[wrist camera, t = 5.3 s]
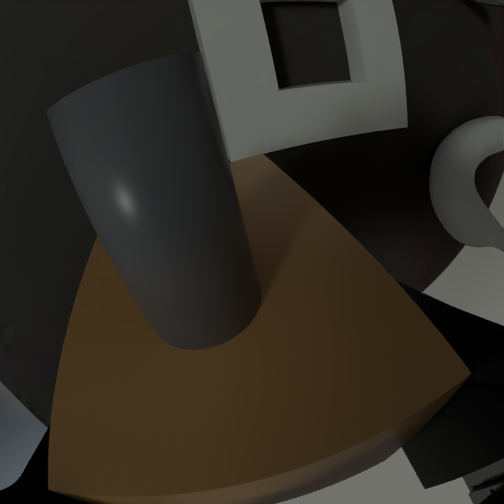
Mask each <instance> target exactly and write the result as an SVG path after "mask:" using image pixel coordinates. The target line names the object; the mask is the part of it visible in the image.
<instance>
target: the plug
mask: <svg viewBox="0 0 504 504" xmlns="http://www.w3.org/2000/svg"><path fill="white" fill-rule="evenodd" d="M47 115H48V118H49V121H50V124H51V127H52V130H53V133H54V136H55V139H56V142H57V144H58V147H59V150H60V152H61V155H62V157H63V160H64V162H65V165H66V167H67V170H68V172H69V175H70V177H71V179H72V182H73V184H74V186H75V189H76V191H77V193H78V195H79V198H80V200H81V202H82V204H83V206H84V208H85V210H86V212H87V215H88V217H89V219H90V221H91V223H92V225H93V227H94V229H95V231H96V233H97V235H98V236H97V239H96V241H95V244H94V246H93V249H92V252H91V254H90V257H89V260H88V263H87V265H86V268H85V271H84V274H83V277H82V280H81V283H80V286H79V289H78V293H77V296H76V299H75V302H74V306H73V309H72V313H71V317H70V320H69V324H68V328H67V332H66V336H65V340H64V345H63V349H62V354H61V358H60V363H59V368H58V374H57V379H56V385H55V392H54V399H53V406H52V415H51V424H50V436H49V454H48V490H51V491H54V492H57V493H59V494H62V495H65V496H68V497H72V498H75V499H78V500H82V501H85V502H89V503H93V504H275V503H279V502H283V501H287V500H290V499H293V498H296V497H300V496H303V495H305V494H309V493H312V492H314V491H317V490H320V489H323V488H325V487H328V486H331V485H333V484H335V483H338V482H340V481H343V480H345V479H348V478H350V477H352V476H354V475H356V474H359V473H361V472H363V471H365V470H367V469H369V468H371V467H373V466H375V465H377V464H379V463H381V462H383V461H385V460H386V459H387V458H389V457H390V456H391V455H392V454H393V453H395V452H396V451H397V450H398V449H399V448H400V447H402V446H403V445H404V444H405V443H406V442H407V441H408V440H410V439H411V438H412V437H413V436H414V435H415V434H416V433H417V432H418V431H419V430H420V429H421V428H422V427H423V426H425V425H426V424H427V423H428V422H429V421H430V420H431V419H432V418H433V417H434V415H435V414H436V413H437V412H438V411H439V410H440V409H441V408H442V407H443V406H444V405H445V404H446V403H447V402H448V400H449V399H450V398H451V397H452V396H453V395H454V394H455V392H456V391H457V390H458V389H459V388H460V387H461V385H462V384H463V383H464V382H465V381H466V379H467V378H468V377H469V375H470V374H471V372H470V371H469V369H468V368H467V366H466V365H465V364H464V362H463V361H462V360H461V358H460V357H459V356H458V355H457V353H456V352H455V351H454V349H453V348H452V347H451V345H450V344H449V343H448V342H447V340H446V339H445V338H444V337H443V335H442V334H441V333H440V332H439V330H438V329H437V328H436V327H435V326H434V324H433V323H432V322H431V321H430V320H429V318H428V317H427V316H426V315H425V314H424V312H423V311H422V310H421V309H420V308H419V307H418V305H417V304H416V303H415V302H414V301H413V300H412V299H411V297H410V296H409V295H408V294H407V293H406V292H405V291H404V289H403V288H402V287H401V286H400V285H399V284H398V283H397V282H396V281H395V280H394V278H393V277H392V276H391V275H390V274H389V273H388V272H387V271H386V270H385V269H384V268H383V267H382V266H381V264H380V263H379V262H378V261H377V260H376V259H375V258H374V257H373V256H372V255H371V254H370V253H369V252H368V251H367V250H366V249H365V248H364V247H363V246H362V245H361V244H360V243H359V242H358V241H357V240H356V239H355V238H354V237H353V236H352V235H351V234H350V233H349V232H348V231H347V230H346V229H345V228H344V227H343V226H342V225H341V224H340V223H339V222H338V221H337V220H336V219H335V218H334V217H333V216H332V215H331V214H330V213H329V212H328V211H326V210H325V209H324V208H323V207H322V206H321V205H320V204H319V203H318V202H317V201H316V200H315V199H314V198H313V197H311V196H310V195H309V194H308V193H307V192H306V191H305V190H304V189H303V188H302V187H300V186H299V185H298V184H297V183H296V182H295V181H294V180H293V179H291V178H290V177H289V176H288V175H287V174H286V173H285V172H283V171H282V170H281V169H280V168H279V167H278V166H277V165H275V164H274V163H273V162H272V161H271V160H269V159H268V158H267V157H266V156H265V155H264V154H262V155H258V156H254V157H250V158H247V159H243V160H239V161H236V162H232V163H229V160H228V156H227V152H226V148H225V144H224V140H223V136H222V132H221V128H220V124H219V120H218V116H217V112H216V108H215V104H214V100H213V96H212V92H211V88H210V84H209V80H208V76H207V72H206V68H205V64H204V60H203V56H202V53H201V52H190V53H182V54H176V55H171V56H166V57H162V58H158V59H154V60H150V61H147V62H143V63H140V64H137V65H134V66H131V67H128V68H125V69H122V70H120V71H117V72H115V73H112V74H110V75H107V76H105V77H103V78H100V79H98V80H96V81H94V82H92V83H90V84H88V85H86V86H84V87H82V88H80V89H78V90H76V91H75V92H73V93H71V94H69V95H68V96H66V97H64V98H63V99H61V100H60V101H58V102H57V103H56V104H54V105H53V106H52V107H51V108H49V109H48V111H47Z"/></svg>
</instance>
